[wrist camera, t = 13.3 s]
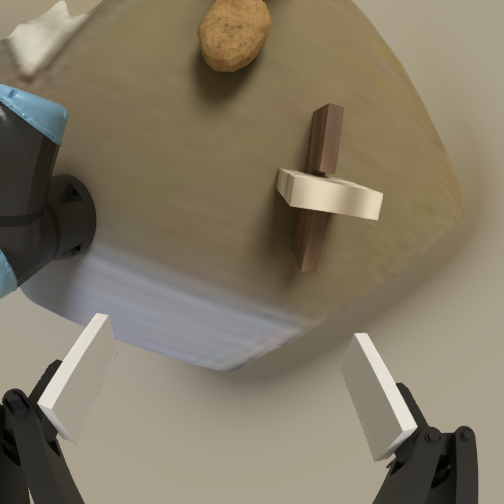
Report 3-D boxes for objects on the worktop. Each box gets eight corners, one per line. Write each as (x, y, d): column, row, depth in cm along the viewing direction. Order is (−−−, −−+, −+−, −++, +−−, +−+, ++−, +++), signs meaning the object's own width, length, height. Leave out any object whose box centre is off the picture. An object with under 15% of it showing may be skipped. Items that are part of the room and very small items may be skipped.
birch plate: (275, 187, 40) (289, 206, 27) (278, 168, 39) (294, 176, 26) (338, 197, 41) (377, 220, 28) (341, 178, 40) (383, 193, 26)
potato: (191, 76, 33) (179, 60, 26) (215, 5, 29) (210, -20, 21) (255, 86, 34) (257, 72, 27) (276, 14, 30) (282, -10, 22)
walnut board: (292, 249, 44) (301, 270, 36) (313, 111, 36) (328, 103, 28) (304, 251, 44) (315, 272, 36) (326, 114, 36) (344, 107, 28)
